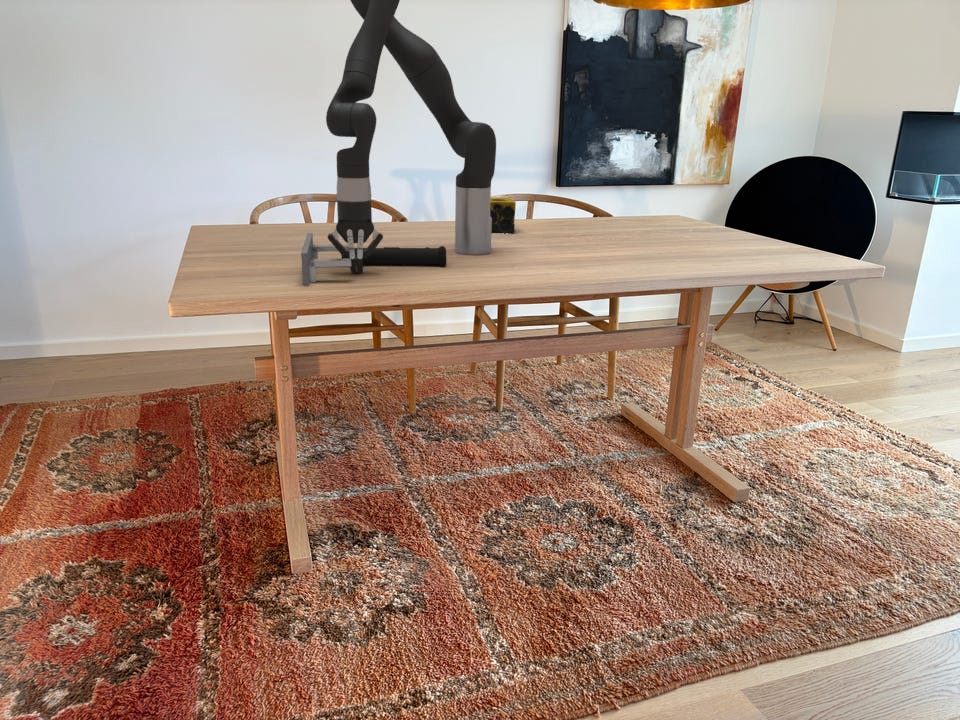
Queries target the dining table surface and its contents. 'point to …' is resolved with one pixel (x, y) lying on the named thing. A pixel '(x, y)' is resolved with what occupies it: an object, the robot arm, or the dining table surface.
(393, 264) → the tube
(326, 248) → the grey u-shaped bracket
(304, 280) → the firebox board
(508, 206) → the black and yellow cube
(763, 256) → the dining table surface
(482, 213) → the robot arm
